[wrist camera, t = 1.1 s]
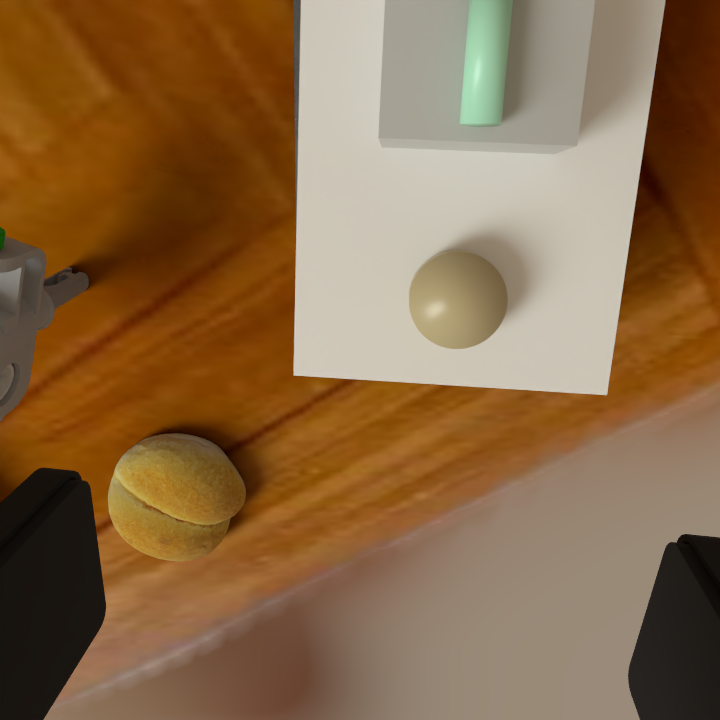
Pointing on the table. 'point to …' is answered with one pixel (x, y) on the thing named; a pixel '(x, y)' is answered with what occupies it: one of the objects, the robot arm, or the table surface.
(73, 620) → the robot arm
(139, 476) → the bread roll
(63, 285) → the mechanical component
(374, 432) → the table surface
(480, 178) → the levelling plate
